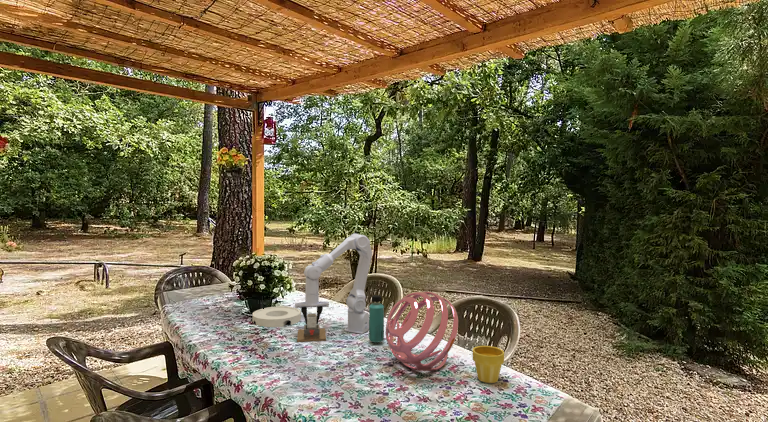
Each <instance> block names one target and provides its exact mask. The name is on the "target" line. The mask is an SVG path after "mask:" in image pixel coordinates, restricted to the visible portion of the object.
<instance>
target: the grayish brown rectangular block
mask: <svg viewBox="0 0 768 422" xmlns="http://www.w3.org/2000/svg"><path fill="white" fill-rule="evenodd" d="M316 328H317V313H307V329H316Z"/></svg>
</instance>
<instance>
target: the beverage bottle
mask: <svg viewBox="0 0 768 422" xmlns="http://www.w3.org/2000/svg"><path fill="white" fill-rule="evenodd" d="M371 302H372V303H371V304H369V306H368V310H369V311H368V312H369V313H368V314H369V330H368V339H369V341H370V342H372V343H380V342H383V341H384V339H385V306H384V305H383V304H382V303H380V302H382V295H377V294H376V295H375V294H374V295H372V296H371Z"/></svg>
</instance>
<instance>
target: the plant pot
mask: <svg viewBox="0 0 768 422" xmlns="http://www.w3.org/2000/svg"><path fill="white" fill-rule="evenodd" d="M472 360H473V362H474V365H475V369H476V375H477V379H478V381H480V382H482V383H484V384H485V383H487V384H495V383H498V381H499V377H500V373H501V369H502V366H503V364H504V363H505V351H504V350H502V349H501V348H499V347H496V346H490V345H479V346H475V347H473V348H472Z"/></svg>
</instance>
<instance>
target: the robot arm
mask: <svg viewBox="0 0 768 422" xmlns="http://www.w3.org/2000/svg"><path fill="white" fill-rule="evenodd" d="M348 250H356V251H357V253H358V255H359V260H358V263H357V264H358V265H357V267H356V273H355V278H354V283H353V286H352V289H351V290H350V291H349V294H348V296H347V297H346V299H345V304H346V306H347V307H348V308H347V327H346V328H345V329H344V330H343V331H344V332H349V333H356V334H360V335H363V334H364V333H366V332H369V313H368V312H366V311H365V309H366V304H367V303H366V298H367V297H366V293H365V288H366V286H367V285H366V284H367V279H368V275H369V271H370V270H369V269H370V267H371V266H370V265H371V262H372V256H373V251H372V250H373V249H372V247H371V240H370V239H369V238H368V236H366V235H364V234H359V233H357V232H354V233H351V234H350V236H348V237H346V238H345V239H344V240H343V241H342V242H341V243H340V244H338V246H336V247H335V248H334V249H333V250H331V252H330V253H324V254H320V256H319V258H318V259H316V260H315V261H312V262H311V264H309V265H307V266H306V267H305V269H304V271H303V274H304V276H305V287H304V288H305V298H304V299H305V300H304V301H303V302H295V303H294V308H297V309H299V308H300V311H301V314H302V315H303V318H304V323H305V325H307V315H308V308H316V315H317V324H319V321H320V316H321V314H322V312H323V309H324V308H330V303H329V301H319V298H320V296H319V291H320V287H319V285H320V283H319V281H320V280H319V279H320V277H321V275H322V273H323V272H325V271H326V270H327V269H328V268H330V267H331V266H332V265H333V264H334V261H335V260H336V259H337V258H339V257H340V256H341V255H343V254H344V253H345V252H347V251H348Z"/></svg>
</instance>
